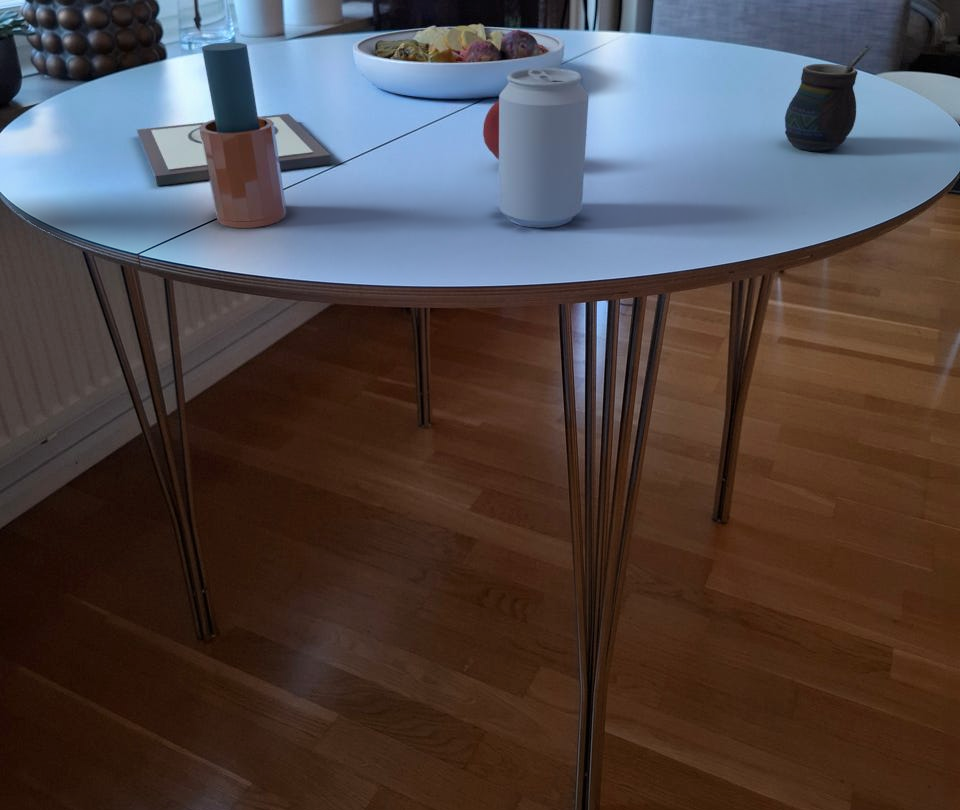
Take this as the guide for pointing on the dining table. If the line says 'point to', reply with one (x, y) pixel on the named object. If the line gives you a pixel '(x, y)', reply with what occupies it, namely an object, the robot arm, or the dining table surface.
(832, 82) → the mate gourd
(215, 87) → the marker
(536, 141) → the can
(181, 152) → the picture frame
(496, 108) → the onion
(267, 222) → the pen cup
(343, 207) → the dining table surface
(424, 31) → the bowl
